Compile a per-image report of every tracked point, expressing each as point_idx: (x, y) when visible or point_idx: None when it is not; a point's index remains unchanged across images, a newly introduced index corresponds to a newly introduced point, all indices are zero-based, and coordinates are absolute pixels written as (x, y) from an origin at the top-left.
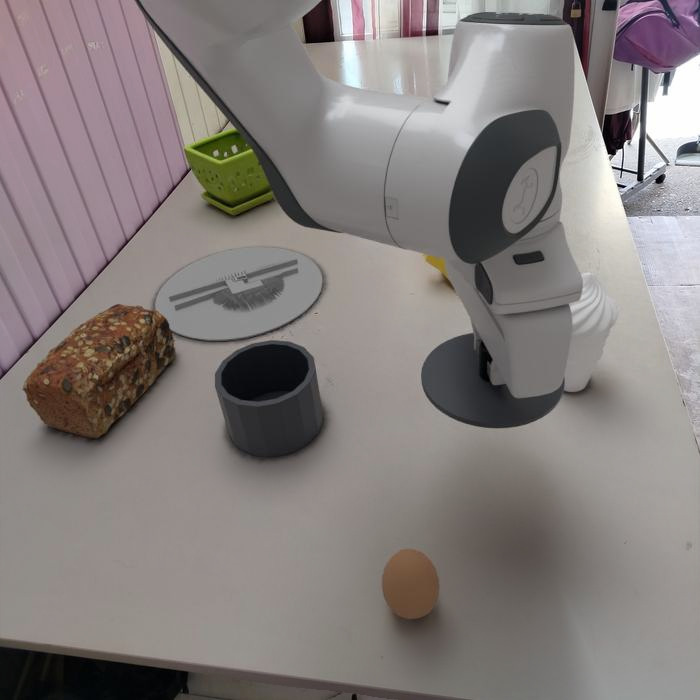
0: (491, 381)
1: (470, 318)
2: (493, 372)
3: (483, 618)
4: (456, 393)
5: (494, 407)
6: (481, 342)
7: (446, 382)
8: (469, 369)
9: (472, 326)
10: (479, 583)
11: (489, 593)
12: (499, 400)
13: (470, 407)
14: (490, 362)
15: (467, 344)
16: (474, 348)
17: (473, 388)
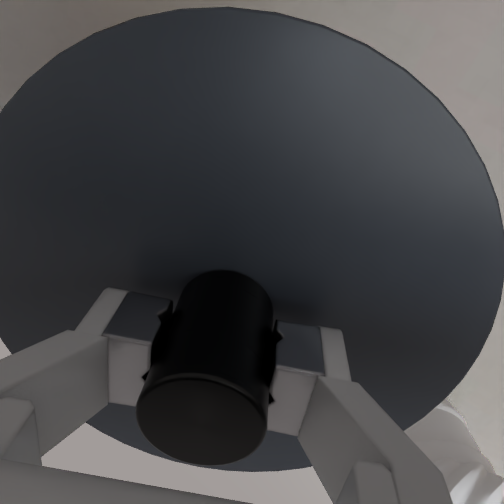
0: (106, 292)
1: (423, 461)
2: (76, 328)
3: (17, 10)
4: (165, 142)
5: (52, 234)
6: (238, 396)
7: (249, 135)
8: (284, 257)
9: (382, 424)
10: (79, 37)
11: (59, 45)
12: (83, 266)
13: (66, 155)
14: (138, 350)
15: (426, 318)
16: (335, 333)
17: (171, 218)
